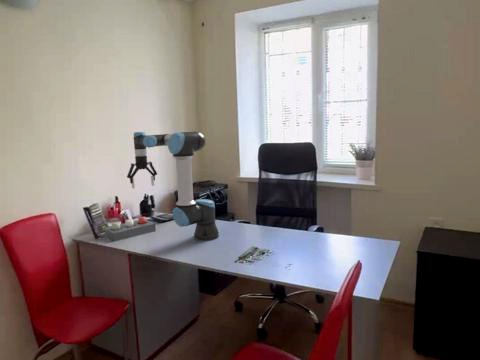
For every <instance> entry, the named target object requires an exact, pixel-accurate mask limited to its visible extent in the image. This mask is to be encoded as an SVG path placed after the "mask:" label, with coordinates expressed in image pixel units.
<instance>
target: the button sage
mask: <svg viewBox="0 0 480 360" xmlns="http://www.w3.org/2000/svg"><path fill="white" fill-rule="evenodd" d="M120 224H121V222H112V223H111V226H112V230H113V231H115V230H120Z"/></svg>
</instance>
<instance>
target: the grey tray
mask: <svg viewBox="0 0 480 360" xmlns="http://www.w3.org/2000/svg"><path fill="white" fill-rule="evenodd" d="M133 223H134V226H132V227H128V228H127V227H126V225H125V222H124V223H120V230H115V231H113V230H112V225H111V226H107V227H103V228H104V229H103V232H104V231H105V236H104V237H106V238H108V239H109V240H111V241H113V242H117V241H121V240H125V239H129V238H134V237H137V236H141V235H145V234H148V233H149V234H150V233H152V232H156V231H157V230H156V223H154V222H152V221H150V220H148V219H146V223H145V224H141V225H140V224H139V223H138V219H136V220H133Z"/></svg>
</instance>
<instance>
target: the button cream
mask: <svg viewBox="0 0 480 360" xmlns="http://www.w3.org/2000/svg"><path fill="white" fill-rule="evenodd" d="M133 221H134V219H132V218H131V219H126V220H124V223H125V225H126V227H127V228H128V227H132V226H134V223H133Z"/></svg>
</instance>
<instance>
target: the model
mask: <svg viewBox="0 0 480 360" xmlns="http://www.w3.org/2000/svg"><path fill="white" fill-rule="evenodd" d="M269 251H272V252H274V251H273V250H270V249H266V248H260V247H257V246H253V245H252V246H251V247H250V248H248V249H247V250H245V251H244V252H243V253H242V254H240V255H239V256H238V257H237V258H238V259H236V260H234V263H236V262H239V263H238V264H243V263H244V261H246V262H245V263H250V262H251V263H255V262H256V261H262V260H261V259H265V257H270V256H269V255H267V256H266V254H273V253H272V252H269ZM265 252H266V253H265ZM268 252H269V253H268ZM256 253H257V254H256ZM254 254H255V255H254ZM263 254H265V255H264V257H263V256H262V255H263ZM253 255H254V256H253ZM250 256H253V258H252V257H251V258H252V259H254V260H252V259H251V258H250ZM260 256H262V257H261V259H260ZM248 258H250V259H248ZM247 261H250V262H247ZM254 261H255V262H254Z"/></svg>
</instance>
